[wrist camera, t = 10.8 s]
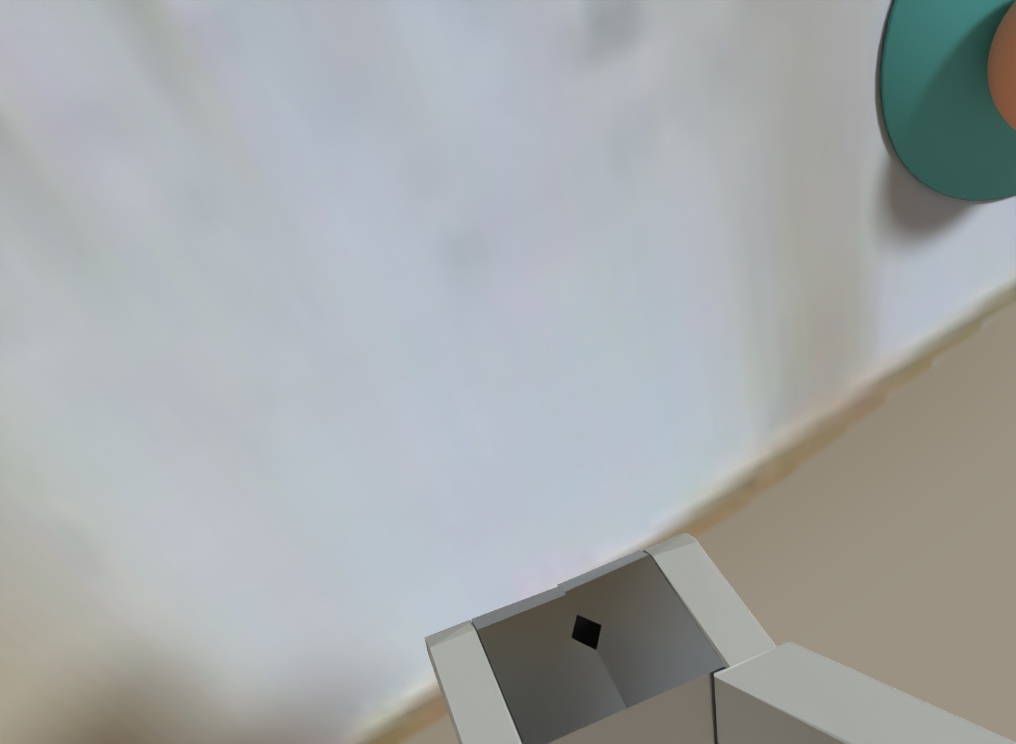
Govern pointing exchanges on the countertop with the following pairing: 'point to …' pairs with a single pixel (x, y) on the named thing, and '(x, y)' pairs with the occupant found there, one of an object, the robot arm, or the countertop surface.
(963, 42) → the disc
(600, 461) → the countertop surface
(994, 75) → the ball
